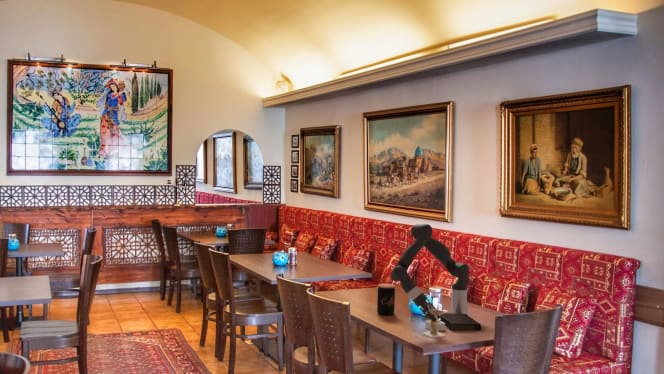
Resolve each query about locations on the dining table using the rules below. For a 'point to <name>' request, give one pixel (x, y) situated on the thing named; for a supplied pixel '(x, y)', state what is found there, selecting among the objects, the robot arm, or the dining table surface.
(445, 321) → the diary
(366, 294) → the dining table surface
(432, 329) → the crook peg
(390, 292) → the coffee jar
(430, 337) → the ceramic pad
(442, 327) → the socket block
